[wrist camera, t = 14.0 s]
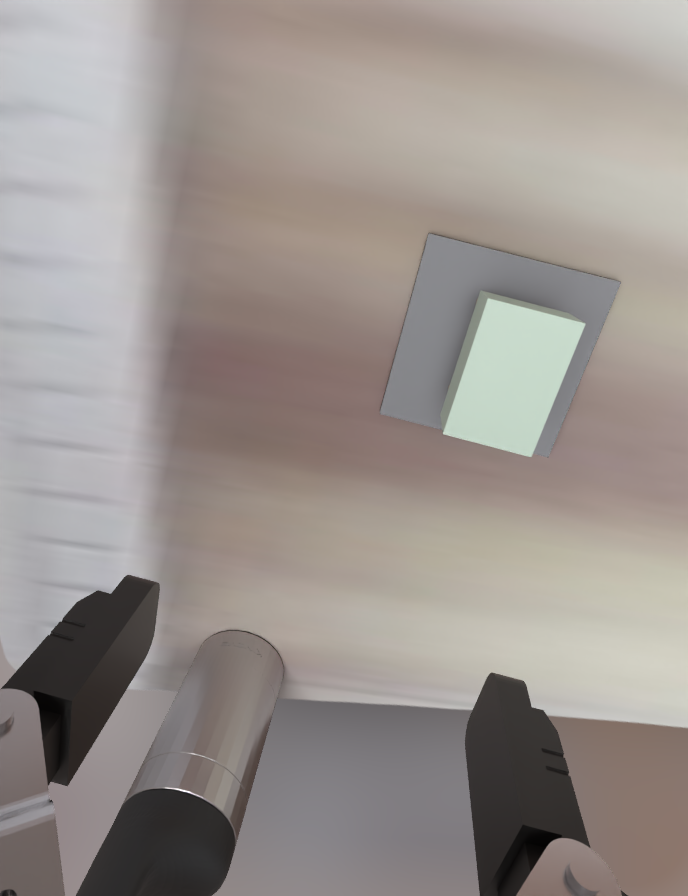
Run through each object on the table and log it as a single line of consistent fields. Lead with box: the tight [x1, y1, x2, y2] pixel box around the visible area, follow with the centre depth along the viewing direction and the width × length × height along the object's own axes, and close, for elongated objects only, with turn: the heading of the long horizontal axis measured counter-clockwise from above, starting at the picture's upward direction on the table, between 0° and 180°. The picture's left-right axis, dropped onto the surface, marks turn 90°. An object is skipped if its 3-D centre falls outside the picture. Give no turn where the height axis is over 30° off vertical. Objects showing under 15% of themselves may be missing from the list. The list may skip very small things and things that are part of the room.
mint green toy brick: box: [440, 290, 586, 457], centre depth 39 cm, size 6×9×8 cm, turn 167°
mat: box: [380, 233, 621, 457], centre depth 43 cm, size 14×14×1 cm
